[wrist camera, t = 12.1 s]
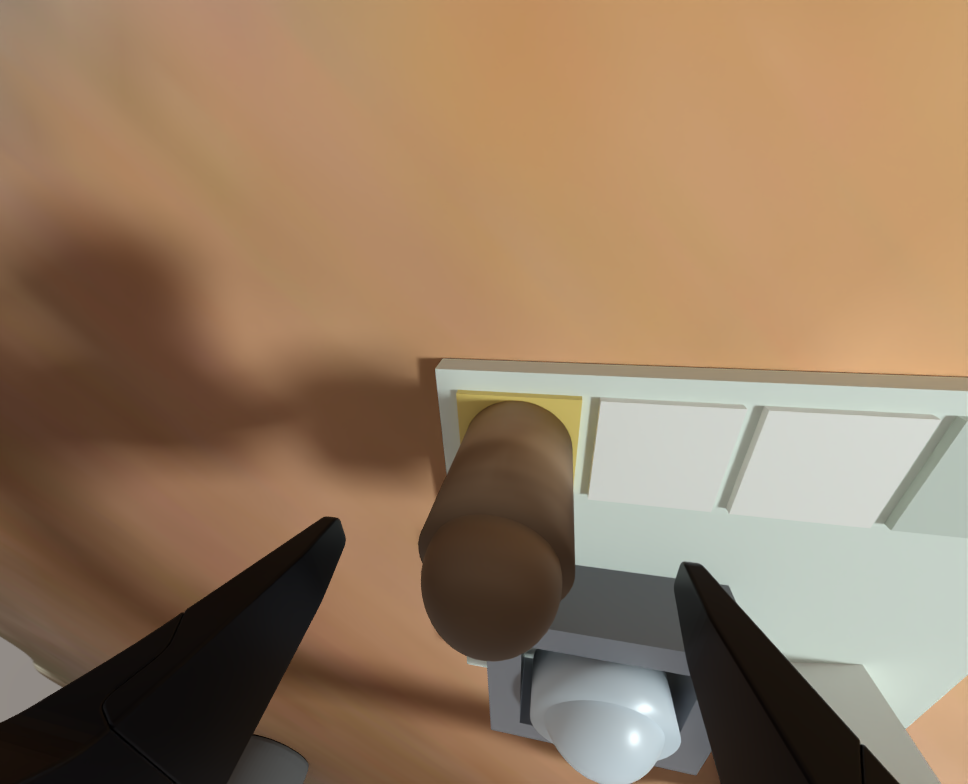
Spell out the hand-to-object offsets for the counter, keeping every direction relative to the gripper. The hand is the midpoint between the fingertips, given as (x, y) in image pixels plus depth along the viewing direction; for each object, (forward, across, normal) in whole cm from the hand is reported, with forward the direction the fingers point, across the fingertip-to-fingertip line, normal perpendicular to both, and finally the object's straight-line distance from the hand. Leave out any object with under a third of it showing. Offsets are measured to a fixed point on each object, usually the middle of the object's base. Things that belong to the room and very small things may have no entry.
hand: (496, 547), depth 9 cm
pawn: (+4, 0, 0) cm, 5 cm away
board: (+6, -8, +7) cm, 12 cm away
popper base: (+5, -4, +12) cm, 13 cm away
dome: (+5, -4, +12) cm, 13 cm away
